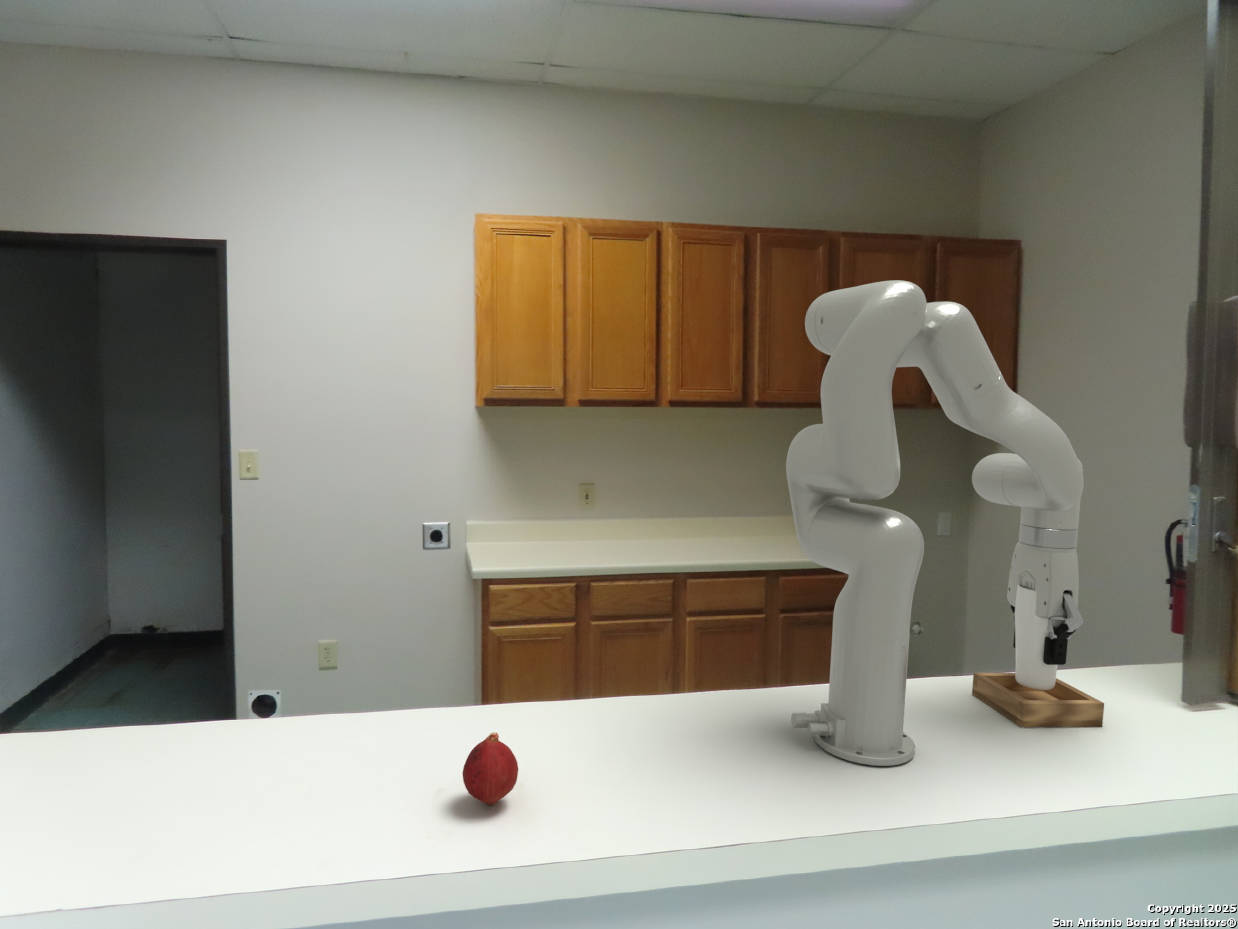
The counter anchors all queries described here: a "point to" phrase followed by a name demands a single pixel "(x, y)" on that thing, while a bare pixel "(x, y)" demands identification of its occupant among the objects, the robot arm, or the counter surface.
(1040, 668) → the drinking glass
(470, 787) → the onion
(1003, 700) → the tray
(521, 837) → the counter surface
